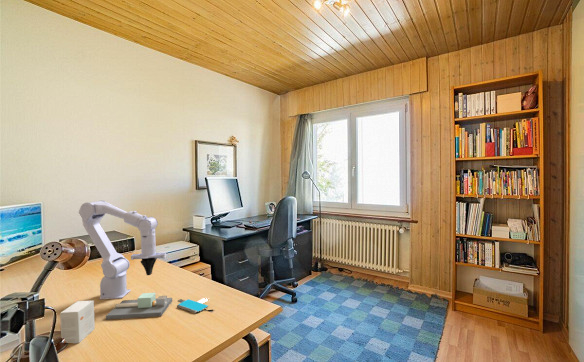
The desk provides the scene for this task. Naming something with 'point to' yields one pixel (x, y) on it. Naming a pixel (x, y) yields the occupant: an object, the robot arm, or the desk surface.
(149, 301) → the sleeve
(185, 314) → the desk surface
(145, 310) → the board
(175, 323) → the desk surface
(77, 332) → the small box
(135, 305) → the wooden dowel
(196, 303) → the blue flat gadget
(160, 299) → the block
